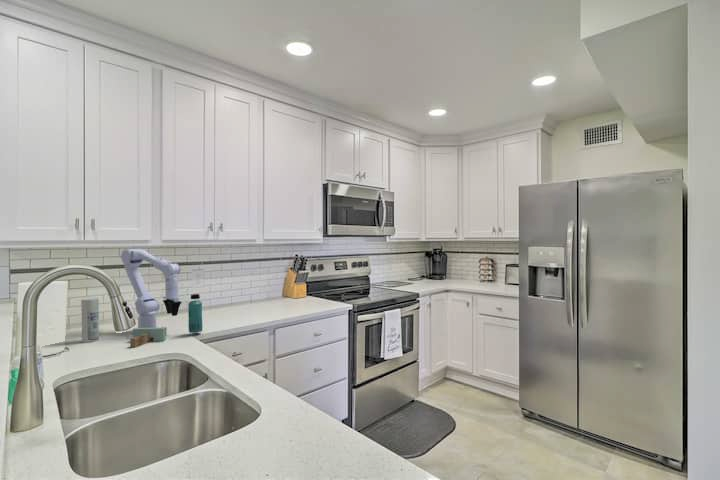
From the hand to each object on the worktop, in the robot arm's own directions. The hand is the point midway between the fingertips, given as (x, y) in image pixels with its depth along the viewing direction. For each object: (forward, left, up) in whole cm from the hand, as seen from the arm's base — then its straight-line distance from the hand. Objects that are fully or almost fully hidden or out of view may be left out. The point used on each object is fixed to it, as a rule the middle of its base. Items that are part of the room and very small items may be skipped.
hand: (172, 314), depth 183 cm
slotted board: (+6, -13, -9) cm, 17 cm away
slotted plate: (+6, -13, -9) cm, 17 cm away
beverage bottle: (+12, +6, -10) cm, 17 cm away
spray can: (-17, -30, -10) cm, 36 cm away
